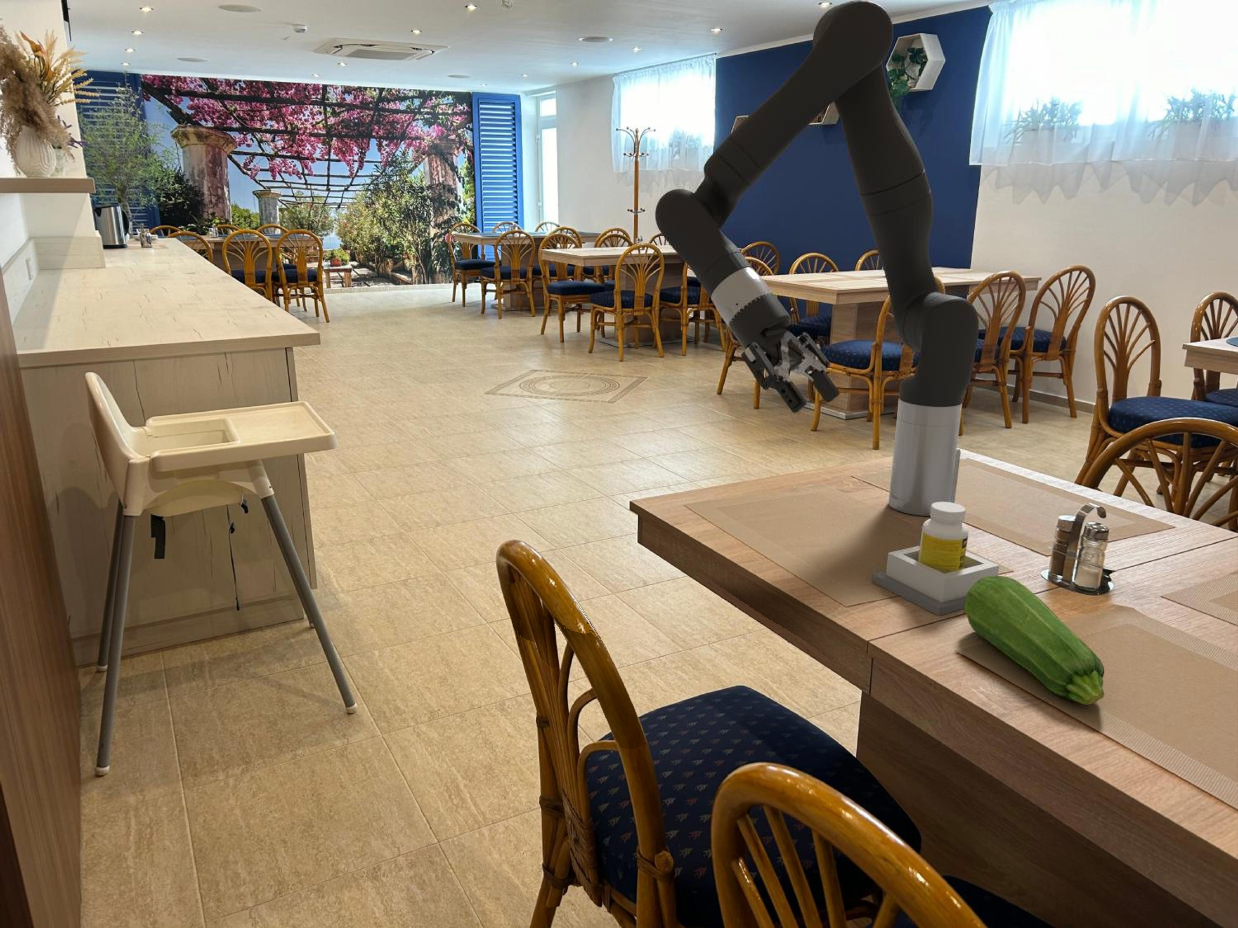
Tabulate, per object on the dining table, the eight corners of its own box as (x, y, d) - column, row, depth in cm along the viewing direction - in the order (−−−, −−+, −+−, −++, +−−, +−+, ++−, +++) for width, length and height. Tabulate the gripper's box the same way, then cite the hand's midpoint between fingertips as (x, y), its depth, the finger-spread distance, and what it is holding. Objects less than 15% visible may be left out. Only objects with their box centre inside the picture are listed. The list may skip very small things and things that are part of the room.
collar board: (940, 564, 120) (943, 536, 119) (1009, 596, 111) (1013, 565, 110) (872, 581, 115) (874, 552, 113) (938, 615, 105) (942, 584, 104)
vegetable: (1001, 554, 102) (1125, 639, 83) (1019, 604, 104) (1144, 697, 85) (944, 585, 101) (1055, 676, 83) (963, 634, 104) (1076, 734, 85)
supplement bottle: (964, 591, 109) (974, 516, 107) (918, 587, 111) (927, 512, 108) (958, 574, 115) (968, 501, 112) (914, 569, 116) (922, 497, 113)
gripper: (737, 295, 116) (809, 395, 112) (795, 287, 126) (863, 379, 122) (702, 332, 121) (770, 429, 117) (761, 322, 131) (826, 411, 127)
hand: (818, 403), depth 120 cm, fingers open, 8 cm apart
